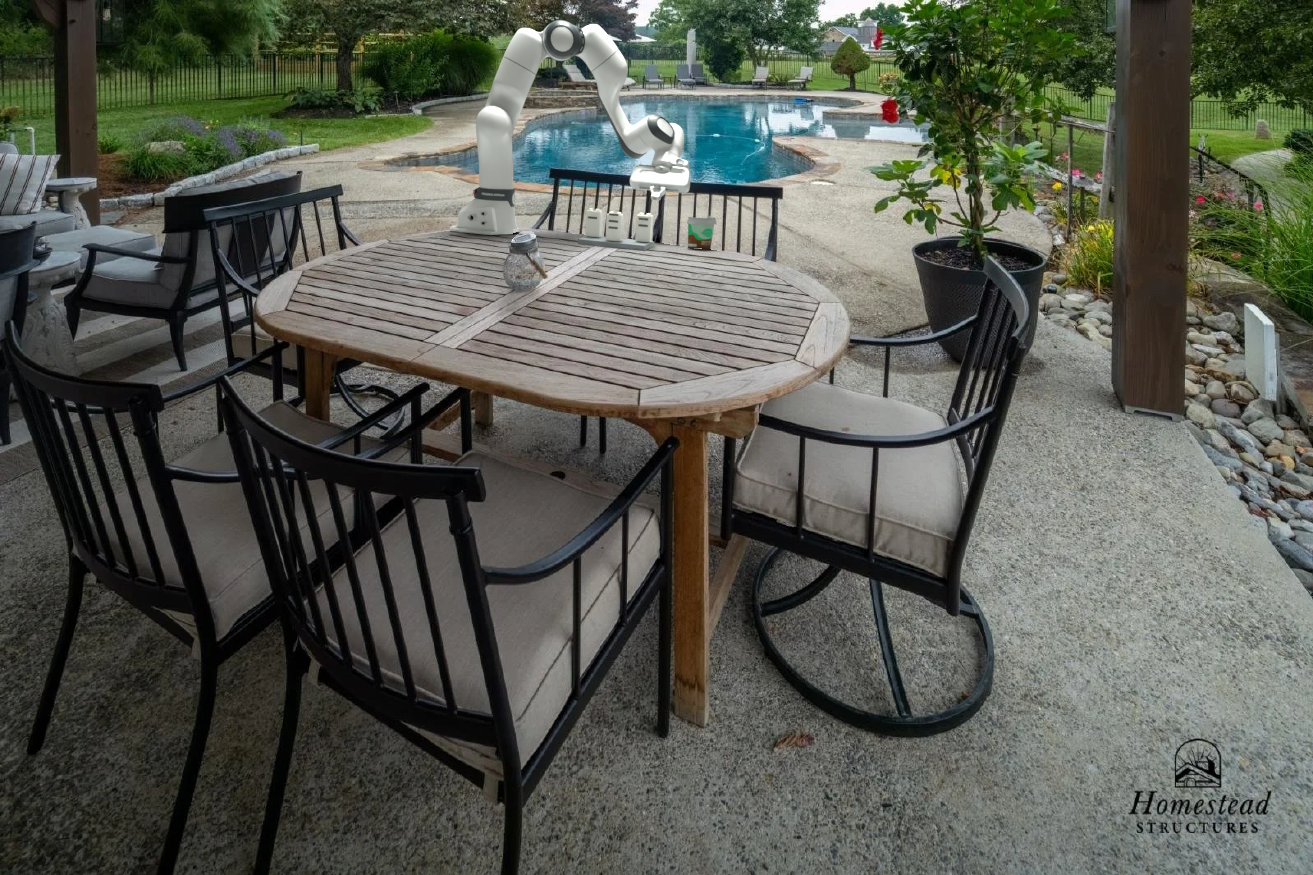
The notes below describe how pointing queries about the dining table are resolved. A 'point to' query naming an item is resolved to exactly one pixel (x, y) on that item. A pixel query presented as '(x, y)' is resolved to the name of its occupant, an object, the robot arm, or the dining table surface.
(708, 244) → the food container
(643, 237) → the tile two
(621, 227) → the tile three
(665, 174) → the robot arm
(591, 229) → the tile one
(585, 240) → the tile board
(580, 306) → the dining table surface
